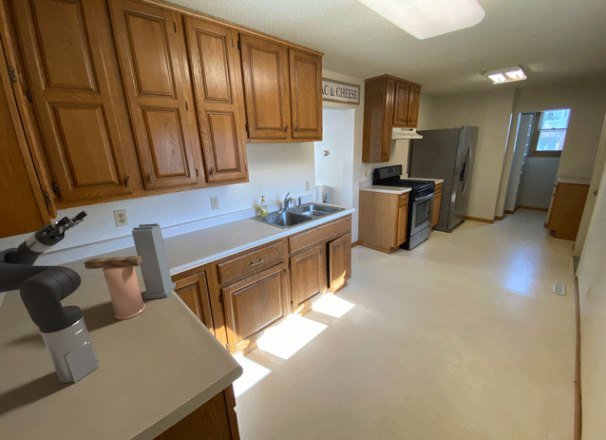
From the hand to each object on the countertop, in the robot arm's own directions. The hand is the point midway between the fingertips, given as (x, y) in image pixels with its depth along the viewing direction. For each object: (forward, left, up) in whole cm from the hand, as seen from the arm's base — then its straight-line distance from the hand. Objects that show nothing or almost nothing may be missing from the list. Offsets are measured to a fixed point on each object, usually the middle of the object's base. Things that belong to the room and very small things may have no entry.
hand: (77, 215), depth 99 cm
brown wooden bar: (-12, -2, -20) cm, 24 cm away
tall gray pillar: (-12, -18, -41) cm, 47 cm away
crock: (-14, -3, -41) cm, 44 cm away
